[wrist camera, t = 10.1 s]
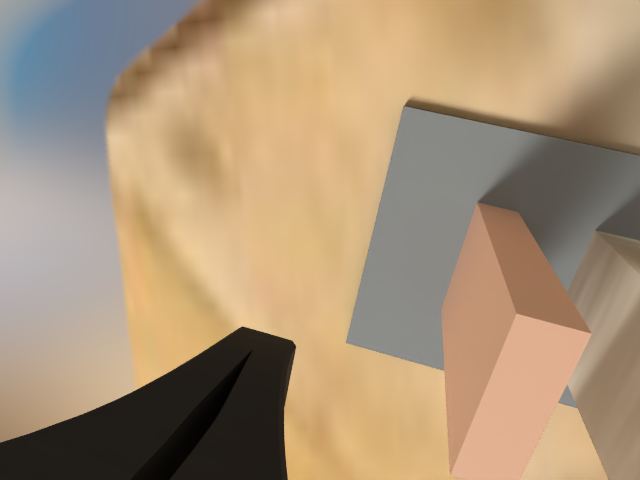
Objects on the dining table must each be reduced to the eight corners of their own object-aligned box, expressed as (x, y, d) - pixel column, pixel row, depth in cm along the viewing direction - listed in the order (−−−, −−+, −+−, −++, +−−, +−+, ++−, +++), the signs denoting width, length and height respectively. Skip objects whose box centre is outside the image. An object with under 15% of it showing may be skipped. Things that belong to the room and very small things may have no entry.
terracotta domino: (518, 211, 18) (592, 334, 10) (478, 319, 20) (512, 495, 12) (477, 202, 18) (516, 313, 10) (441, 309, 20) (450, 475, 12)
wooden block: (638, 240, 18) (821, 394, 9) (586, 348, 20) (700, 554, 11) (594, 230, 18) (737, 371, 10) (547, 337, 20) (631, 532, 12)
